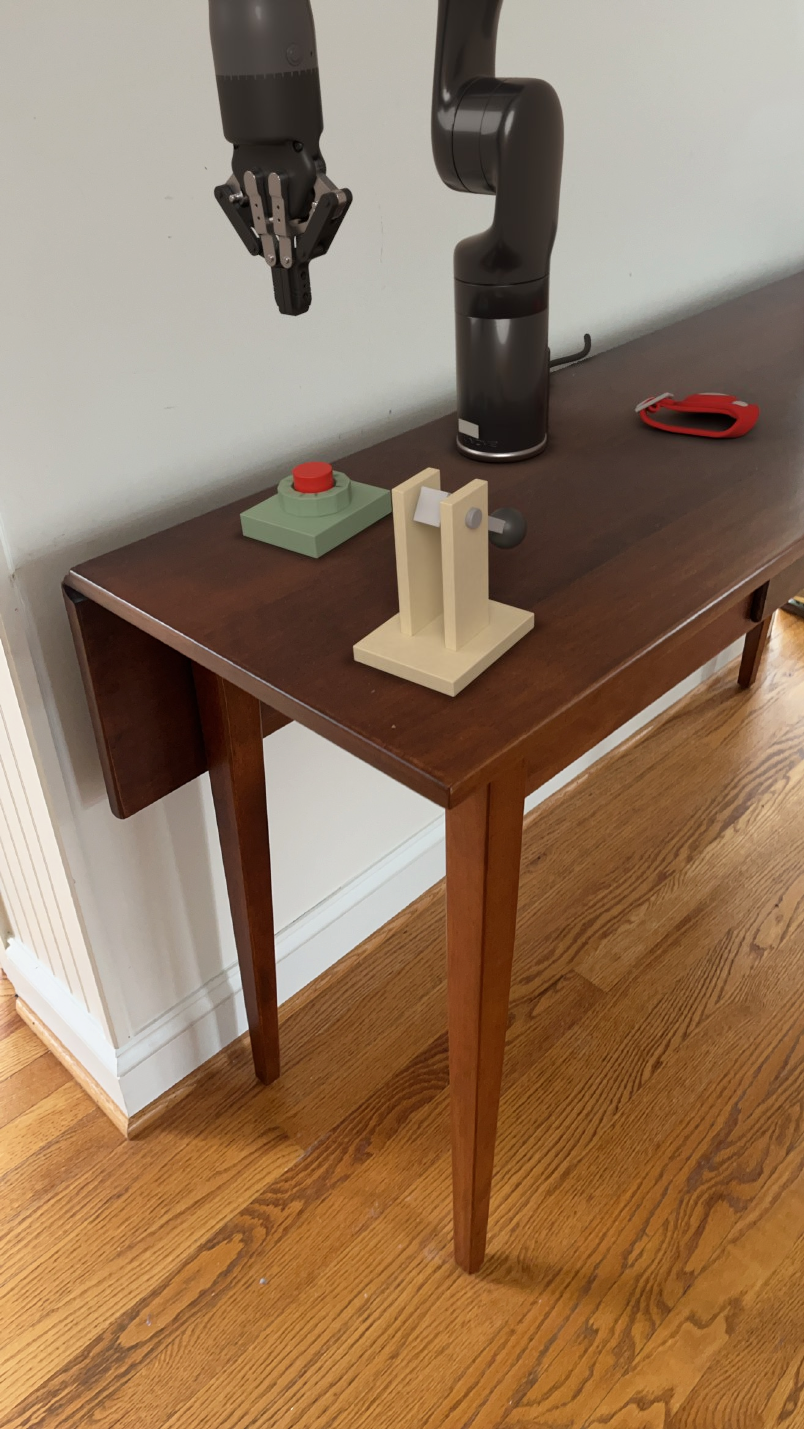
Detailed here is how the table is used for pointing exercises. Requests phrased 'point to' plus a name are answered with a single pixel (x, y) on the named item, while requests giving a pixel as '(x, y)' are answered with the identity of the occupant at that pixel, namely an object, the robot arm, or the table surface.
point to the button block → (316, 515)
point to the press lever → (502, 523)
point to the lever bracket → (443, 594)
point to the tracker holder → (702, 403)
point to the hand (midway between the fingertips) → (294, 312)
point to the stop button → (313, 477)
